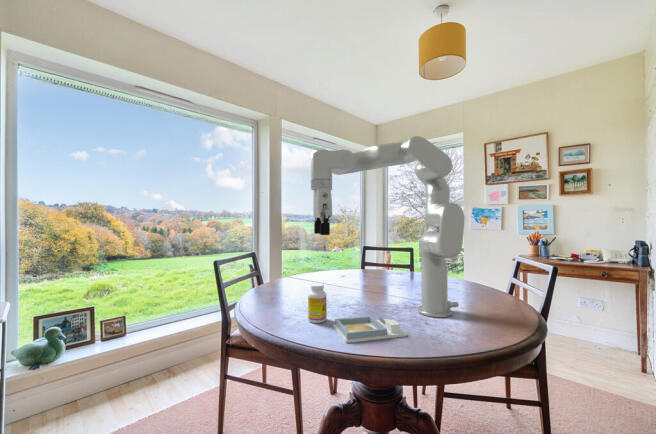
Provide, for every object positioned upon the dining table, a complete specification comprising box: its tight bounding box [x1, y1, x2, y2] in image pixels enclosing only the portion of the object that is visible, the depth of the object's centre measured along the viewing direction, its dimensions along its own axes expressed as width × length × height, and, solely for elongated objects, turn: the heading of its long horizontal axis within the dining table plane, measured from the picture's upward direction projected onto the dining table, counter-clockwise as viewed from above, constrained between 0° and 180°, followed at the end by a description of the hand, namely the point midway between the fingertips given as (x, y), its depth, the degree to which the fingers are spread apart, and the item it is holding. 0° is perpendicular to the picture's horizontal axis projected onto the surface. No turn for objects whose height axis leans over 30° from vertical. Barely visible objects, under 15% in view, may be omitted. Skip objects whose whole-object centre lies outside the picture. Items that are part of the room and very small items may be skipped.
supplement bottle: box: [307, 283, 328, 324], centre depth 105 cm, size 7×7×13 cm
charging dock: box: [332, 315, 408, 344], centre depth 95 cm, size 20×14×3 cm
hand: (321, 234), depth 103 cm, fingers open, 9 cm apart
